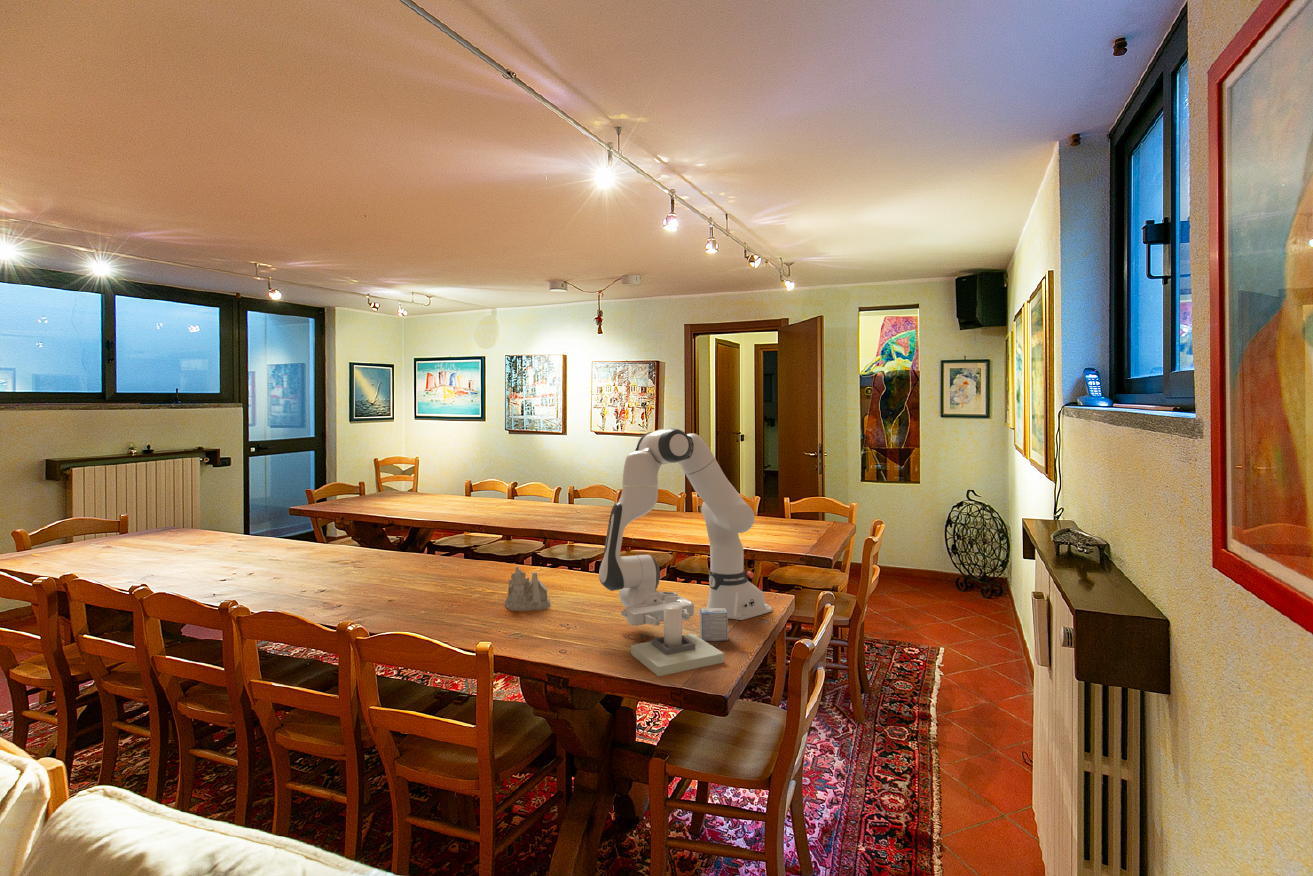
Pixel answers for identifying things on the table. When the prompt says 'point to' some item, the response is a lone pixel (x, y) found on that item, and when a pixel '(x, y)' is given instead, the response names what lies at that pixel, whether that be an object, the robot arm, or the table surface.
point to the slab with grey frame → (676, 655)
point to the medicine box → (714, 624)
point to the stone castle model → (526, 593)
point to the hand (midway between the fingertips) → (672, 619)
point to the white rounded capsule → (672, 626)
